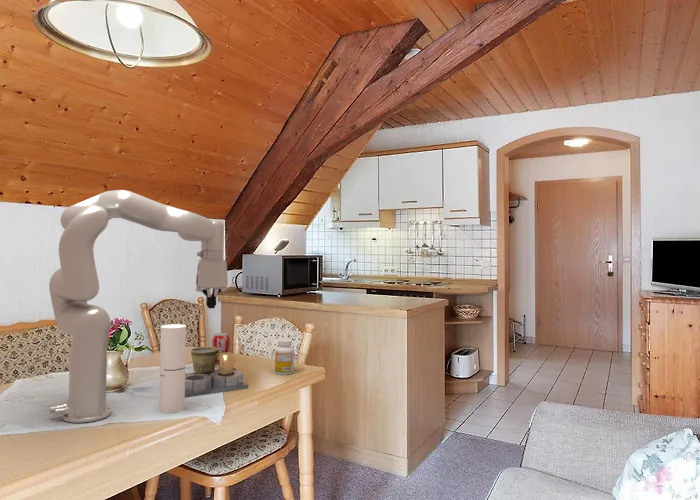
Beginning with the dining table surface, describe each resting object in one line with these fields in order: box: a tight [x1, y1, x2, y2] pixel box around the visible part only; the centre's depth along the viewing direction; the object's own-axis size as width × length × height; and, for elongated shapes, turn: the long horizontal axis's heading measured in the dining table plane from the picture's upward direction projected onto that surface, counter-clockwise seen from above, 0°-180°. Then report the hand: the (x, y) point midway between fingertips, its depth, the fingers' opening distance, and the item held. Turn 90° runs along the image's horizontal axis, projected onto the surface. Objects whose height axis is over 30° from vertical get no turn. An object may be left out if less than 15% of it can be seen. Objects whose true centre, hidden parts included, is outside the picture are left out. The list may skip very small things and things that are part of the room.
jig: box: [185, 367, 249, 398], centre depth 175 cm, size 22×13×4 cm, turn 124°
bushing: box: [218, 352, 234, 376], centre depth 178 cm, size 5×5×10 cm
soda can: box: [211, 332, 231, 365], centre depth 211 cm, size 7×7×12 cm
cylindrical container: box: [158, 323, 187, 414], centre depth 152 cm, size 7×7×25 cm
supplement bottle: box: [274, 338, 295, 376], centre depth 197 cm, size 7×7×13 cm
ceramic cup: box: [190, 346, 222, 373], centre depth 190 cm, size 13×10×10 cm
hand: (211, 307), depth 179 cm, fingers closed
